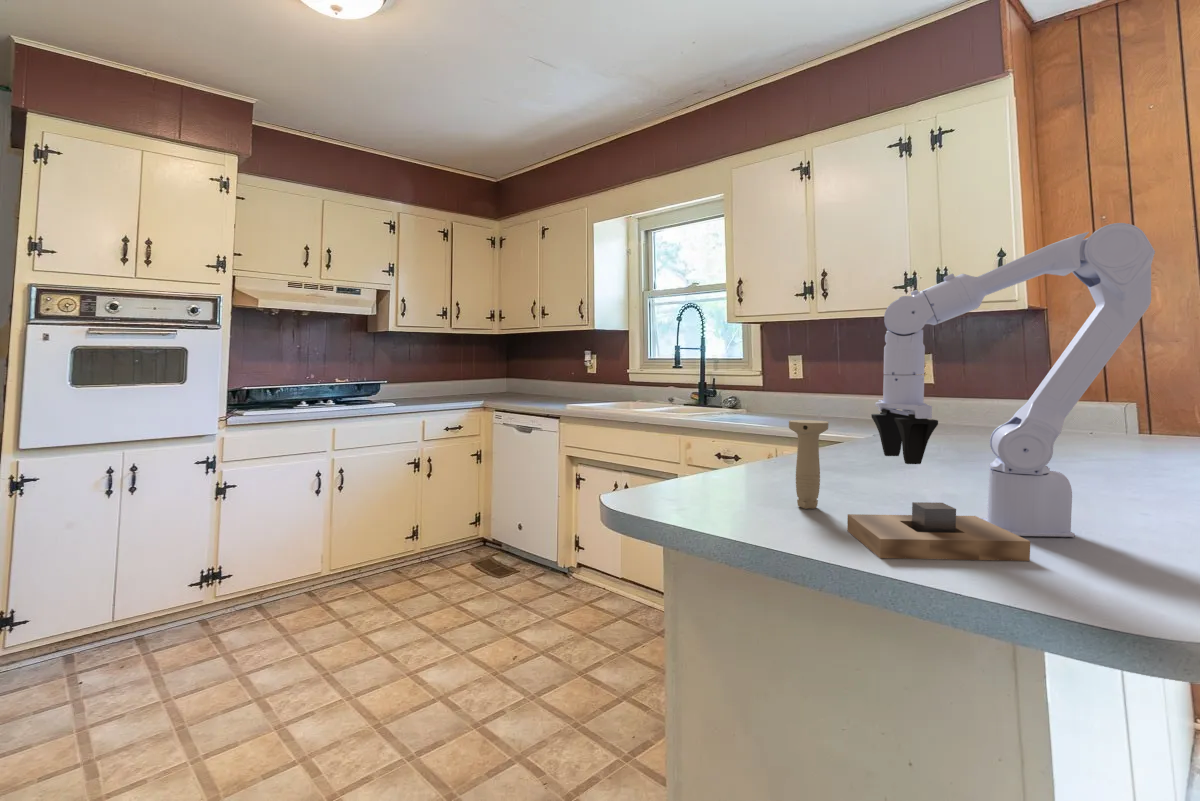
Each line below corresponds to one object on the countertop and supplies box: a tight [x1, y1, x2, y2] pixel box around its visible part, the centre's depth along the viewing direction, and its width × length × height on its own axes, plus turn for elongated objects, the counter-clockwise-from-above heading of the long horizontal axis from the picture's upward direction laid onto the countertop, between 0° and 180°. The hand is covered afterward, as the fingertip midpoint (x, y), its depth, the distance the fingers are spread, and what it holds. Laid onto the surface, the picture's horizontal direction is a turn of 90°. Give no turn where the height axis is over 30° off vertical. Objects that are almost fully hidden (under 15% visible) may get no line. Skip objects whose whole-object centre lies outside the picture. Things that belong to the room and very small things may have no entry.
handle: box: [788, 419, 829, 510], centre depth 98 cm, size 5×6×15 cm
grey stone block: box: [911, 501, 957, 533], centre depth 77 cm, size 4×4×6 cm
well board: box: [846, 513, 1031, 562], centre depth 77 cm, size 18×12×2 cm, turn 85°
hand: (901, 459), depth 90 cm, fingers open, 7 cm apart
